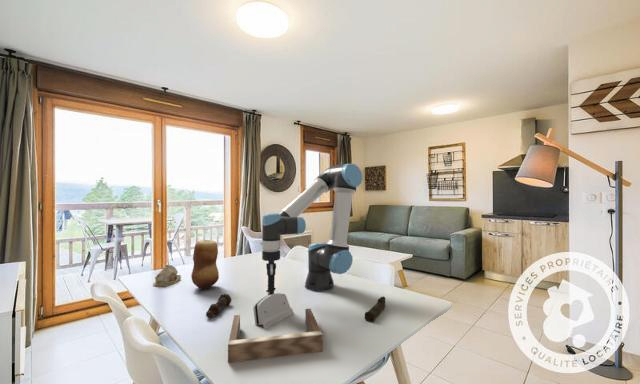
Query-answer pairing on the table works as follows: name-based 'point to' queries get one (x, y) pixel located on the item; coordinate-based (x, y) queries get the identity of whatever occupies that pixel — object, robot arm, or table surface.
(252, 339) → the frame
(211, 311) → the bolt
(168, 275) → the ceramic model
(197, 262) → the butternut squash
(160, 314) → the table surface
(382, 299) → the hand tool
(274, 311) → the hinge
